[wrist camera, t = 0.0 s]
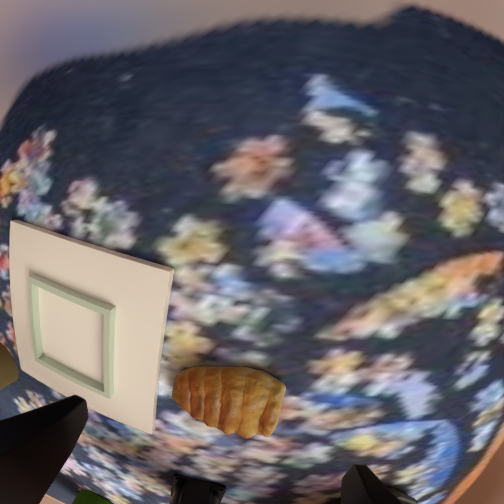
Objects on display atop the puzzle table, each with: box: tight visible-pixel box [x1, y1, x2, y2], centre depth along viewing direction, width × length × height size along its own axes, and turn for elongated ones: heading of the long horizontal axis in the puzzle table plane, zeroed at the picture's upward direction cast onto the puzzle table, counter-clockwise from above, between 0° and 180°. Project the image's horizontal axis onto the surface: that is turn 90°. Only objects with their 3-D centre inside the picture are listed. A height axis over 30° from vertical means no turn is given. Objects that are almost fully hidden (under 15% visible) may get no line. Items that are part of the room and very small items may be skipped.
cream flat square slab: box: [9, 220, 175, 434], centre depth 23 cm, size 18×18×2 cm
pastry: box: [172, 366, 286, 438], centre depth 22 cm, size 9×7×4 cm
